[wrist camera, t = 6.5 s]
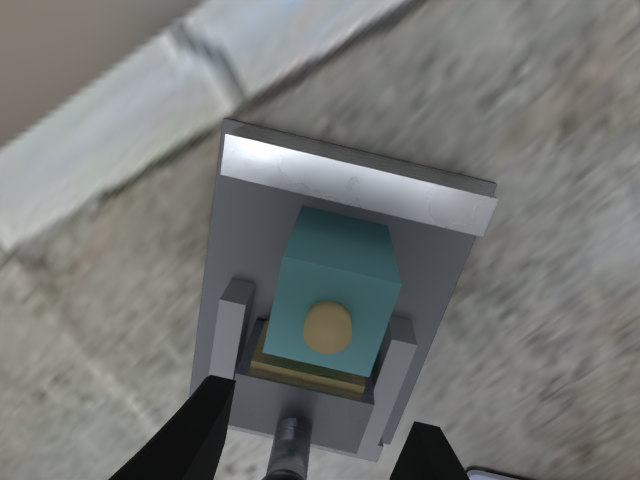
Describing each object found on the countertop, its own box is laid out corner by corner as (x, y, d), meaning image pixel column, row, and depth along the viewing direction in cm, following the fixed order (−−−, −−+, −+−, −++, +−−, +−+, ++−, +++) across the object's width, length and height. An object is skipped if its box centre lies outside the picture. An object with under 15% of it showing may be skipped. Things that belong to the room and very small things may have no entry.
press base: (495, 182, 17) (525, 205, 14) (389, 440, 23) (395, 494, 20) (225, 118, 17) (197, 127, 14) (190, 394, 23) (166, 442, 20)
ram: (372, 339, 20) (385, 499, 13) (352, 397, 22) (353, 571, 14) (257, 312, 20) (200, 457, 12) (246, 373, 22) (188, 535, 14)
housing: (387, 225, 18) (404, 297, 12) (364, 299, 20) (370, 393, 14) (302, 205, 18) (278, 267, 12) (285, 280, 20) (257, 367, 14)
